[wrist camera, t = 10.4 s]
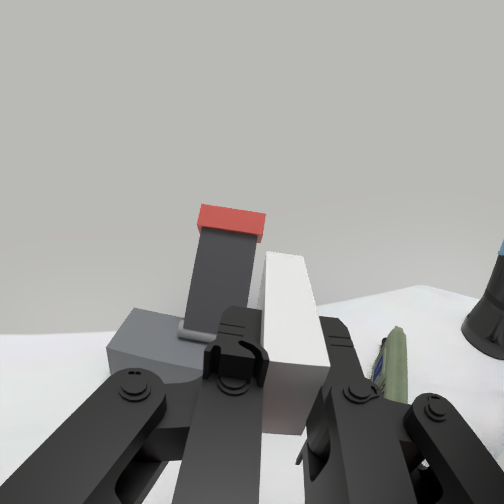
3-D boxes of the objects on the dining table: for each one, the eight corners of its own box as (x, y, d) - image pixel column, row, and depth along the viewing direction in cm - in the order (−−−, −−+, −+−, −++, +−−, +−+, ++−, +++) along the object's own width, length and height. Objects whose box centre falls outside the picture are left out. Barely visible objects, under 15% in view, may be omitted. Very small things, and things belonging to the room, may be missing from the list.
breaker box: (291, 371, 37) (302, 334, 34) (295, 421, 29) (310, 383, 27) (137, 344, 36) (135, 306, 34) (113, 388, 28) (106, 347, 26)
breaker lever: (244, 347, 32) (263, 223, 36) (245, 349, 29) (265, 213, 33) (180, 336, 32) (203, 214, 35) (175, 336, 29) (201, 204, 33)
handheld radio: (348, 470, 23) (373, 343, 45) (377, 477, 22) (391, 349, 44) (379, 433, 20) (388, 308, 42) (411, 441, 19) (407, 315, 41)
